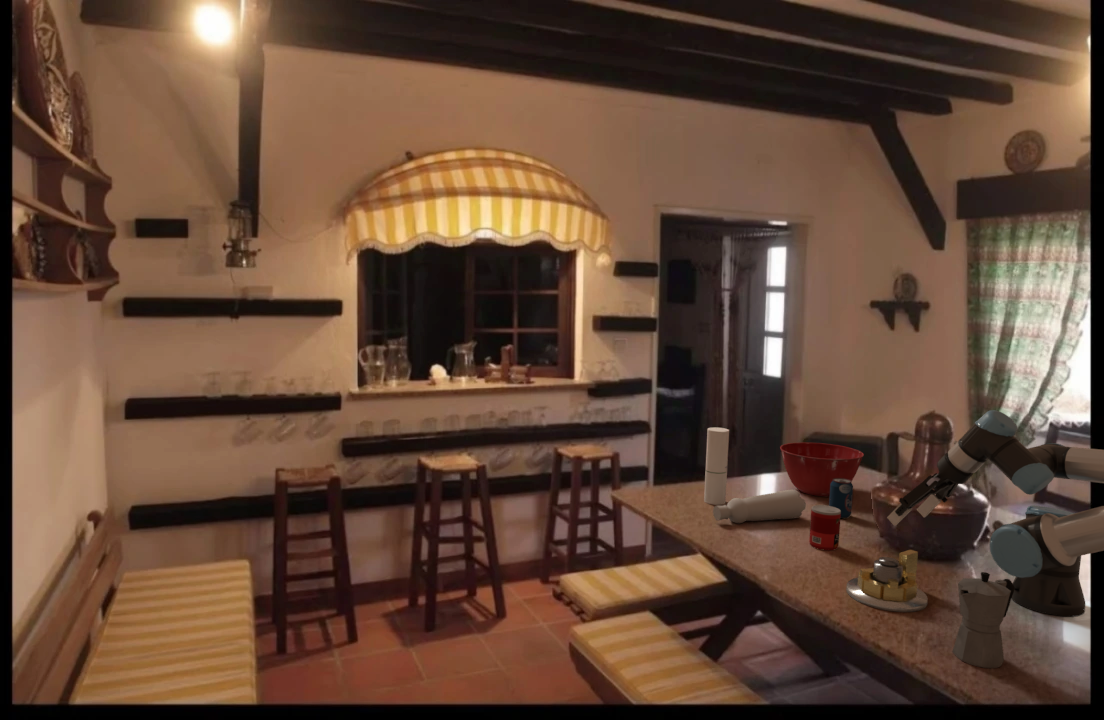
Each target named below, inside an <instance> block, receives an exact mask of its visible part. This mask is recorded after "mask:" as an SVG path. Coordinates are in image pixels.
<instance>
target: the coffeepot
mask: <svg viewBox="0 0 1104 720" xmlns="http://www.w3.org/2000/svg"><path fill="white" fill-rule="evenodd" d="M980 576H981V577H980V578H975V577H973V578H972V577H970V578H967V577H965V578H963V577H962V579H961V580H959V581H958V582H957V587H958V588H957V589H958V598H959V599H958V600H959V611H960V612H959V613H960V615H961V616H962V621H961V623H960V625H959V627H958V628H959V629H958V631H957V635H956V638H955V642H954V645H953V648H952V651H951V652H952V653H953V654H954V655H955V657H956V658H957V659H959V660H960V661H962V662H964V663H965V664H968V665H971V666H974V667H978V668H982V669H983V668H984V669H996V668H997V669H998V668H1000V667H1001V666H1003V663H1004V661H1005V657H1004V649H1003V638H1002V631H1001V624H1002V623H1003V621H1004V618H1005V617H1006V616H1007V613H1008V610H1009V607H1010V605H1011V601H1012V595H1013V593H1014V589H1015V587H1014V585H1013V582H1012V580H1011V579H1009V578H1004V579H996V580H995V581H993V580H992V581H991V580H989V579H990V576H991V574H990V573H989V572H986V571H981V572H980Z"/></svg>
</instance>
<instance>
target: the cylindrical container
mask: <svg viewBox="0 0 1104 720" xmlns="http://www.w3.org/2000/svg"><path fill="white" fill-rule="evenodd" d="M706 430H707V433H706V435H707V436H706V454H705V475H704V494H703V496H704V497H703V502H704V503H706V504H708V505H714V506H723V505H726V497H727V479H728V478H727V477H728V476H727V475H728V461H729V460H728V457H729V444H730V443H729V441H730V429H727V428H724V427H708V428H707V429H706Z"/></svg>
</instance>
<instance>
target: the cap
mask: <svg viewBox="0 0 1104 720" xmlns="http://www.w3.org/2000/svg"><path fill="white" fill-rule="evenodd" d="M873 568H874V570H873V580H874V581H877V582H879V583H882V584H887V585H888V579H896V580H897V581H898V586H900V585H902V573H903V565H902V564H900V563H899V559H896V558H894V557H891V556H890V557H889V556H881V557H880V556H879V558H878V559H876V560H874V562H873ZM846 593H847V594H848V596H849V597H851V598H852V599H853V600H855V601H857V602H858V603H861V604H862V605H865V606H868V607H871V608H875V609H878V610H883V611H887V612H893V613H894V612H896V613H913V612H919V611H922V610H924V609H925V608H926V607H927V606H928V596H927V594H926V593H925V592H924V591H923V590H921V589H920V588H918V587H917V594H916V597H915V598H913V599H910V600H908V601H904V600H903V601H892V600H883V598H881V599H879V598H876V597H874V596H871V595H869V594H866V593H864V592H863V591H861V589H860V588H859V586H858V577H854V578H852V579H850V580H849V581H847V582H846Z"/></svg>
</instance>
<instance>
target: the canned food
mask: <svg viewBox="0 0 1104 720" xmlns="http://www.w3.org/2000/svg"><path fill="white" fill-rule="evenodd" d="M840 518H841V510H840V509H838V508H835V507H832V506H829V505H826V504H825V505H824V504H815V505H812V506H811V511H810V522H809V523H810V524H809V539H808V540H809V541H808V542H809V545H810V546H811V548H814V547H815V549H817V548H818V549H817V550H821V549H824V550H823V551H835V550H834V549H836V550H838V548H839V546H840V545H839V543H840V530H841V519H840Z"/></svg>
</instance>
